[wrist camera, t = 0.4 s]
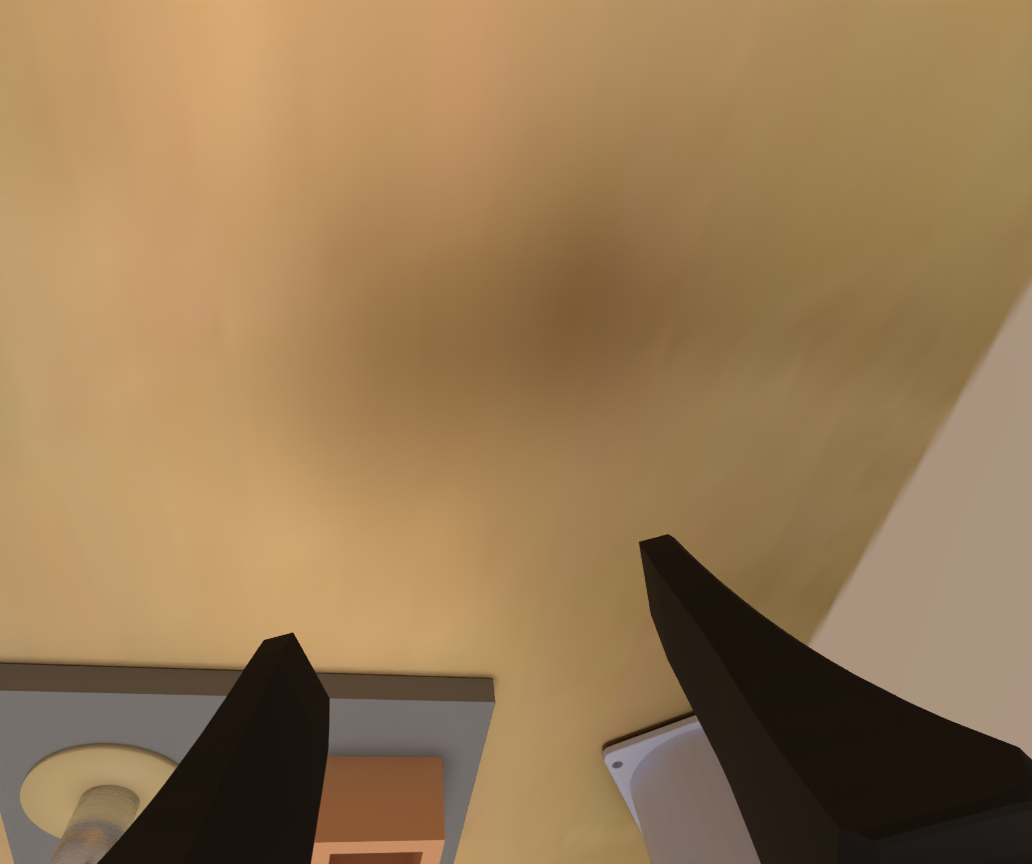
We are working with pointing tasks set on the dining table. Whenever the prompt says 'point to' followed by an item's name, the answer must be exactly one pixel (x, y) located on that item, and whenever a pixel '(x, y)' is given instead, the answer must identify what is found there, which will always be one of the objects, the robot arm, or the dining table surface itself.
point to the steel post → (96, 824)
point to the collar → (381, 811)
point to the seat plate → (180, 721)
